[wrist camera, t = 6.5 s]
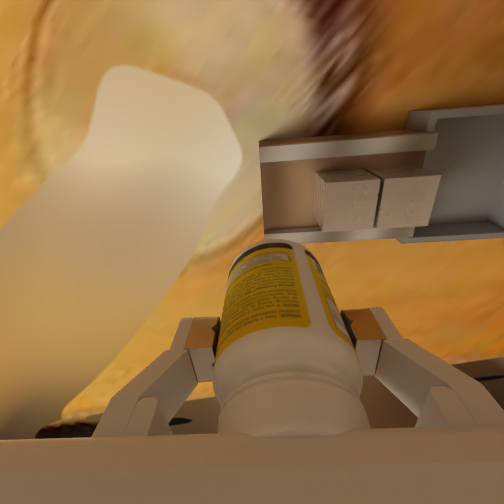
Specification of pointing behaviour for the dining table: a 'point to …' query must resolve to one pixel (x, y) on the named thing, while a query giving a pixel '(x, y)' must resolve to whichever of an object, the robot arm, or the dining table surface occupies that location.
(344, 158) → the channel block
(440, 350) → the dining table surface
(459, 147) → the bin
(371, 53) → the dining table surface
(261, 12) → the dining table surface
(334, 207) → the grey small cube
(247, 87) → the dining table surface
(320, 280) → the supplement bottle
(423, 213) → the beige cube
